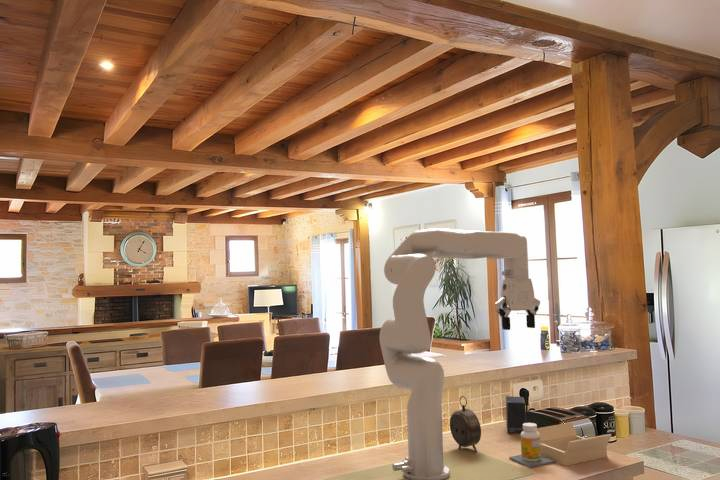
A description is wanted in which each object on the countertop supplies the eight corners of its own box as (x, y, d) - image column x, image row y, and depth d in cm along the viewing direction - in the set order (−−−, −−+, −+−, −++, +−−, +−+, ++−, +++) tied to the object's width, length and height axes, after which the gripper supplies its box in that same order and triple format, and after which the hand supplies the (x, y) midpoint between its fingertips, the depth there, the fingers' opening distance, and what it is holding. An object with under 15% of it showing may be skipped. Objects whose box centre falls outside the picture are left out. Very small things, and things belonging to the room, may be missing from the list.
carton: (571, 467, 162) (570, 441, 162) (532, 452, 177) (531, 428, 177) (613, 459, 168) (611, 434, 169) (571, 445, 183) (570, 422, 183)
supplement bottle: (517, 457, 171) (516, 423, 171) (533, 455, 172) (532, 421, 173) (528, 462, 166) (526, 427, 166) (545, 460, 167) (543, 425, 168)
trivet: (530, 467, 163) (529, 465, 163) (509, 459, 171) (509, 457, 171) (555, 462, 167) (555, 460, 167) (533, 454, 175) (533, 452, 175)
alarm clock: (483, 452, 178) (480, 398, 179) (468, 455, 176) (466, 400, 177) (461, 443, 188) (459, 392, 189) (447, 446, 186) (445, 394, 187)
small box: (527, 434, 197) (526, 402, 198) (507, 433, 198) (506, 402, 199) (525, 426, 207) (523, 396, 208) (506, 425, 209) (504, 395, 209)
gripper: (501, 275, 180) (504, 331, 179) (545, 273, 187) (548, 327, 186) (486, 275, 187) (489, 329, 186) (529, 274, 194) (532, 326, 193)
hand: (518, 328), depth 186 cm, fingers open, 9 cm apart
